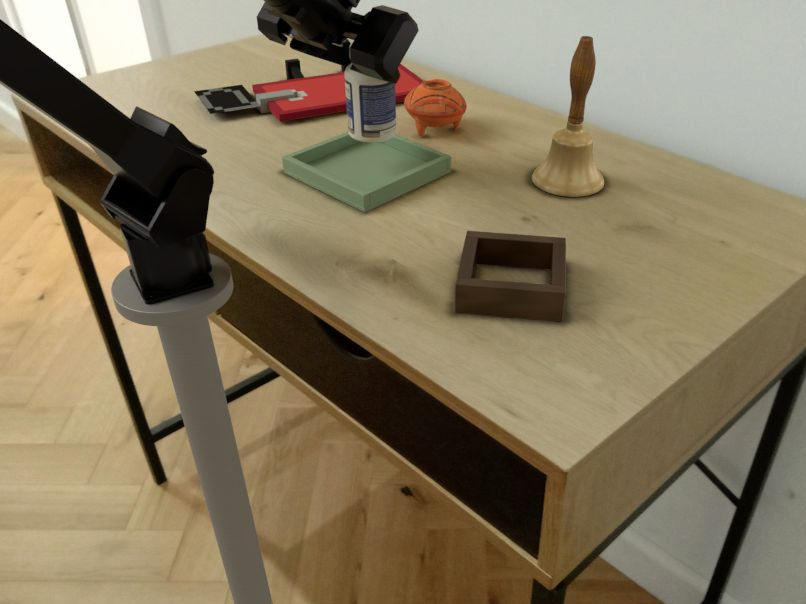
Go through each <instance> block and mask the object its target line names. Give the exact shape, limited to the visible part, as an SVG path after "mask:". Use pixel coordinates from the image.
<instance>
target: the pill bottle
mask: <svg viewBox="0 0 806 604" xmlns="http://www.w3.org/2000/svg"><path fill="white" fill-rule="evenodd" d="M351 45H352V43H351V44H350V46H349V57H350V47H351ZM351 66H352V63H351V64H349V65H348V66H347V67H346V69H345V73H344V75H345V76H344V78H345V92H346V106H347V111H346V119H347V132H349V135H350V136H351V137H352V138H353V139H355V140H357V141H361V142H367V143H378V142H383V141H387V140H389V139H391V138H392V137H394V136H395V134H397V105H396V104H397V103H396V98H395V84H394V83H391V82H387V81H383V80H381V79H377V78H373V77H370V76H366V75H363V74H361V73H358V72H355V71H352V70H350V68H351Z"/></svg>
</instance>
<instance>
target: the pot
mask: <svg viewBox="0 0 806 604" xmlns="http://www.w3.org/2000/svg"><path fill="white" fill-rule="evenodd" d="M403 105H404V109H405V110H406V112H407V114H408V115H409V116H410V117H411V118H412V119H413V120H414V121H415V122H414V123H415V129H416V132H417V134H418V136H419V137H421V138H423V137H424V136H425V134H426V130H427V128H428V127H431V128H443V127H447V126H450V125H453V131H454V132H456V131H457V130H459V129H460V127H461V122H462V119H463V116H464V114H465V113H466V112H467V107H468V106H467V101H466V100H465V98H464V96H463V94H462V93H460V91H459V90H457V88H455V87H454V86H453V85H452V83H451V82H450V81H448V80H445V79H441V78H433V79H429V80H428V79H427V80H423V82H422V84H421V85H419V86H417V87H415V88H414V89H413V90H412V91H411V92H410V93H409V94H408V95H407V96H406V98H405V100H404V102H403Z"/></svg>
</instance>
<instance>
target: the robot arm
mask: <svg viewBox="0 0 806 604" xmlns="http://www.w3.org/2000/svg"><path fill="white" fill-rule="evenodd" d="M263 2H264V3H263V4H262V6H261V8H260V10H259V12H258V13H257V15H256V23H257V31H259V32H260V33H261V34H262V35H263V36H264V37H266V38H267V39H268V40H269V41H271V42H274V43H277V44H280V45H282V46H286V45H287V43H288V40H289V38H288V37H290V38H291V40H290V42H289V48H290V49H292V50H293V51H297V52H299V53H302V54H304V55H308V56H311V57H313V58H317V59H319V60H324V61H326V62H330V63H333V64H335V65H339V66H341V65H342V66H345V67H347V66H348V65H349V64H351V63H352V66H351V68H350V70H352V71H355V72H358V73H361V74H363V75H366V76H370V77H373V78H377V79H381V80H383V81H387V82H391V83H394V84H396V83H397V82H398V80H399V78H400V72H399V69H398V67H399V65H400V64H402V61H403V59H404V57H405V56H406V54H407V52H408V50H409V49H410V47H411V46H412V43H413V42H414V40H415V38H416V37H417V34H418V33H419V31H420V29H419V26H418V23H417V22H416V21H415V19H414V18H413V17H412V15H410V13H409V12H408V11H404V10H400V9H397V8H394V7H392V6H391V7H390V6H387V5H383V4H382V5H376V6H373V7H372V8H371V10H369V11H367V12H366V13H365V14H360V13H357V12H353V11H352V9H353V8H355V9H356V8H358V6H359V3H360V2H361V0H263ZM350 40H352V42H351V41H350ZM350 44H352V45H351V47H350V57H349V46H350ZM0 85H1V86H3V87H4V88H6V90H8V91H10V92H12V94H14V95H15V96H17V97H19V98H20V99H21V100H23V101H24V102H26V103H28V104H29V105H30V106H31V107H33V108H34V109H36V110H37V111H39V112H40V113H42V114H43V115H45V116H46V117H48V118H49V119H50V120H52V121H54V122H55V123H56V124H58V125H59V126H60V127H62V128H63V129H65V130H66V131H68V132H69V133H71V134H72V135H74V136H75V137H77V138H78V139H79V140H81V141H83V142H84V143H85V144H87V145H88V146H89V147H90V148H91V149H92V150H93V151H94V153H95V154H96V155H97V157H99V159H100V160H101V162H102V163H103V164H104V165H105V167H107V168H108V169H109V170H110V171H111V172H112V173H113V176H112V177H111V179H110V181H109V183H108V185H107V187H106V189H105V190H104V192H103V194H102V196H101V198H100V200H99V204H100V205H101V206H102V208H103V209H104V210H105V212H106V213H107V214H108V215H109V217H110V218H111V219H113V220H116V221H118V222H120V224H119V225H118V227H119V230H120V234H121V238H122V240H123V244H124V248H125V251H126V254H127V258H128V262H129V265H131V269H130V270H129V272H130V275H131V277H132V279H133V281H134V283H135V285H136V287H137V289H138V291H139V293H140V295H141V297H142V299H143V301H144V303H145V304H147V305H151V304H155V303H158V302H162V301H165V300H169V299H173V298H176V297H180V296H183V295H187V294H190V293H194V292H198V291H201V290H205V289H208V288H211V287H213V286H214V282H213V279H212V278H211V276H210V275H209V272H211V271H212V264H211V260H210V255H209V253H210V251H209V245H208V241H207V237H206V234H205V233H204V232H206V230H207V229H206V228H207V220H208V214H209V213H208V212H209V205H210V197H211V195H212V194H213V188H214V184H215V180H214V175H215V169H214V167H213V166H212V164H211V163H210V162H209V161H208V160H207V158H206V157H204V156H205V155H206V154H207V153H208V149H207V148H205V147H203V146H200V145H198V144H196V143H194V142H193V141H191V140H189V139H188V137H187V136H186V135H185V134H184V133H183V131H182V130H181V129H180V128H178V127H177V126H176V125H175V124H174V123H172V122H170V121H168V120H166V119H164V118H162V117H160V116H157V115H156V114H154V113H152V112H150V111H147V110H145V109H143V108H142V107H140V106H135V107H134V109H133V111H132V114H131V116H130V117H129V116H127V115H126V114H125V113H123V112H122V111H121V110H120V109H118V108H117V107H115V105H113V104H112V103H111V102H109V101H108V100H106V99H105V98H104V96H103V97H102V95H100V94H99V93H97V92H96V91H94V89H93V88H91V87H90V86H88V85H87V84H86V83H85V82H83V81H82V80H81V79H79V78H78V77H77V76H76V75H74V74H73V73H71V72H70V71H69V70H67V69H66V68H65V67H64V66H62V65H61V64H60V63H58V62H57V61H56V60H55V59H53V58H52V57H51V56H50V55H48V54H47V53H45V52H44V51H43V50H41V49H40V48H39V47H38V46H36V45H35V44H33V42H31V41H30V40H28V39H27V38H26V37H25V36H24V35H22V34H21V33H19V32H18V31H17V30H16V29H14V28H13V27H12V26H10V25H9V24H8V23H7V22H5V21H3V20H2V19H1V18H0Z"/></svg>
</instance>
